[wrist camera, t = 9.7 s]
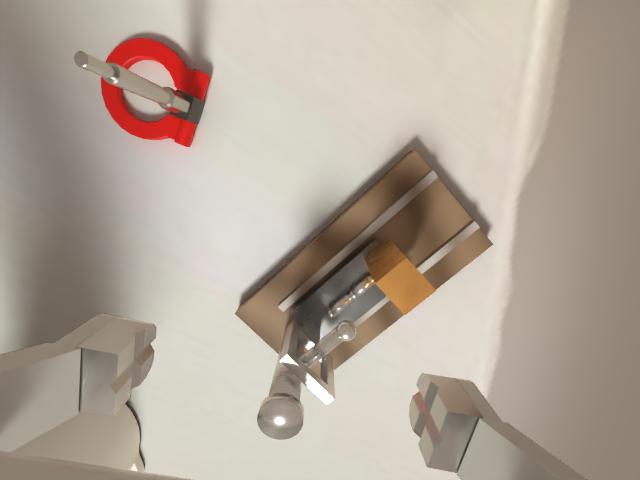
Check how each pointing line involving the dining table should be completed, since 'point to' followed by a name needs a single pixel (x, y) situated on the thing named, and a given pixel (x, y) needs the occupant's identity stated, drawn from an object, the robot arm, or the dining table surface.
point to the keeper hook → (295, 386)
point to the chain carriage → (350, 305)
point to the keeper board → (382, 224)
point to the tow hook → (150, 89)
